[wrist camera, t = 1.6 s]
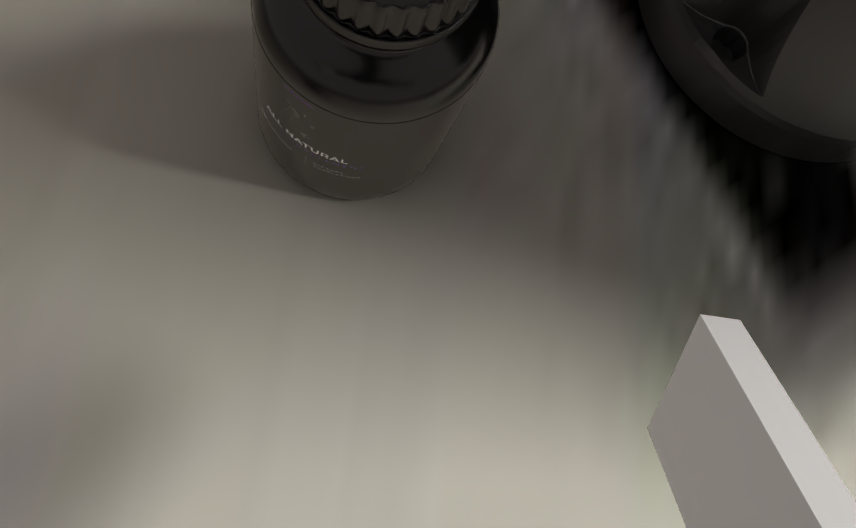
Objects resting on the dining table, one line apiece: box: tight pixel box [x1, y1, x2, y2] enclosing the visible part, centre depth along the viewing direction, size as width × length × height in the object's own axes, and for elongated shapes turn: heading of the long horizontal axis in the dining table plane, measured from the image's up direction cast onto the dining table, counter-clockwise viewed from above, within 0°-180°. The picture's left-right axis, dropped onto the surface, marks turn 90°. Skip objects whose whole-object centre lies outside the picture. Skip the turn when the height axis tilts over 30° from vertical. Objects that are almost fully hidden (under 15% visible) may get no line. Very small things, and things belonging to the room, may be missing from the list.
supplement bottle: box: [251, 0, 500, 200], centre depth 24 cm, size 7×7×12 cm
